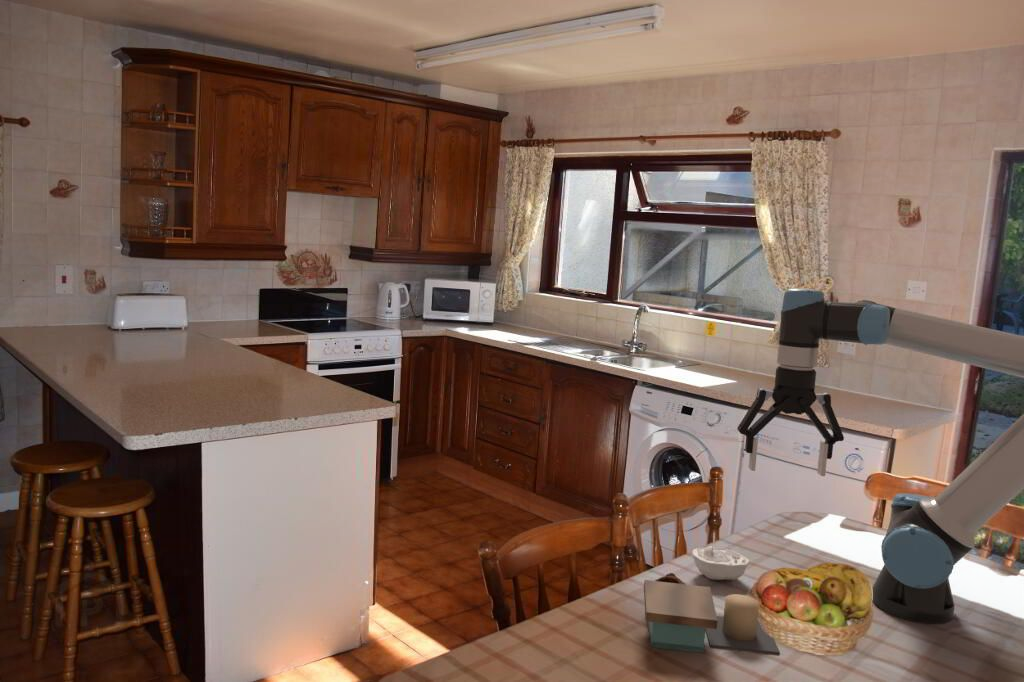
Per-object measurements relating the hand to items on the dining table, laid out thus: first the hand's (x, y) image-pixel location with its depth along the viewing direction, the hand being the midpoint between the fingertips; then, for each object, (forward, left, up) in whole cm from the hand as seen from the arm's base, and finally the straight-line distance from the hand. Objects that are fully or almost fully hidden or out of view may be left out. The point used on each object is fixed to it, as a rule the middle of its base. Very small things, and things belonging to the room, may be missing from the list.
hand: (786, 471), depth 163 cm
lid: (+22, +23, -21) cm, 38 cm away
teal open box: (+22, +22, -27) cm, 41 cm away
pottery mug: (+21, +12, -27) cm, 36 cm away
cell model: (+10, -8, -27) cm, 29 cm away
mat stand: (+10, +18, -27) cm, 34 cm away
